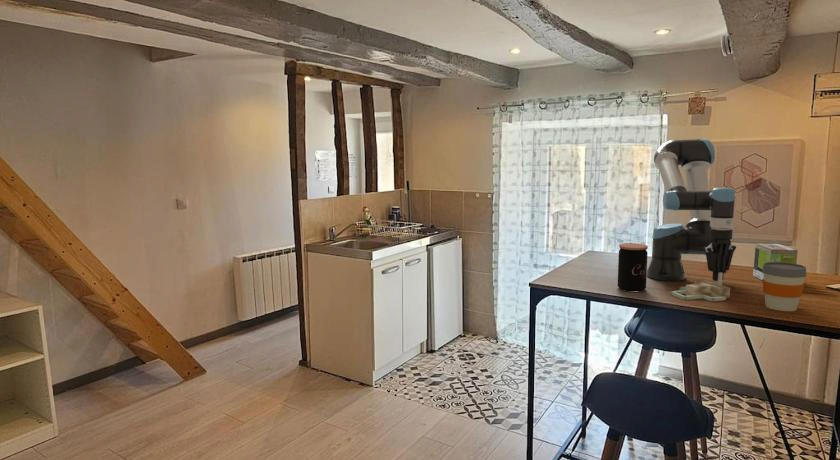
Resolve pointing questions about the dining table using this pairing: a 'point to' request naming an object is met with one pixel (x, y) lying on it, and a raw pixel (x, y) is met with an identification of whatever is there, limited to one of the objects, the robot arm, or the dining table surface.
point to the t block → (707, 289)
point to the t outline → (683, 291)
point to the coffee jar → (632, 267)
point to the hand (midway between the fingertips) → (717, 288)
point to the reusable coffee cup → (783, 285)
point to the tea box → (772, 256)
